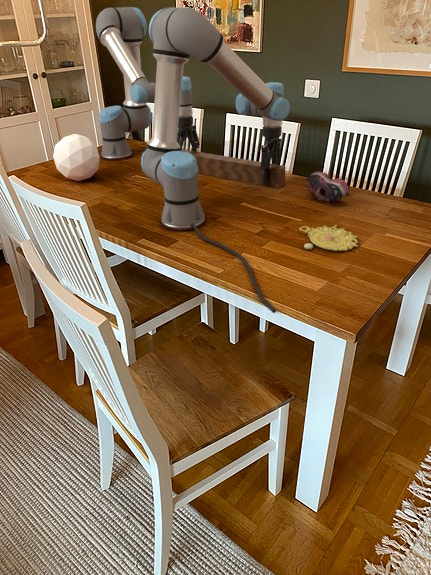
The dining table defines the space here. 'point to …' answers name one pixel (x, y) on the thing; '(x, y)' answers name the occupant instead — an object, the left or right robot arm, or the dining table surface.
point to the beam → (237, 169)
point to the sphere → (76, 157)
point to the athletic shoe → (327, 187)
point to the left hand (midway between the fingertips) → (187, 165)
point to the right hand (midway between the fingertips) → (269, 182)
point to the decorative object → (330, 238)
